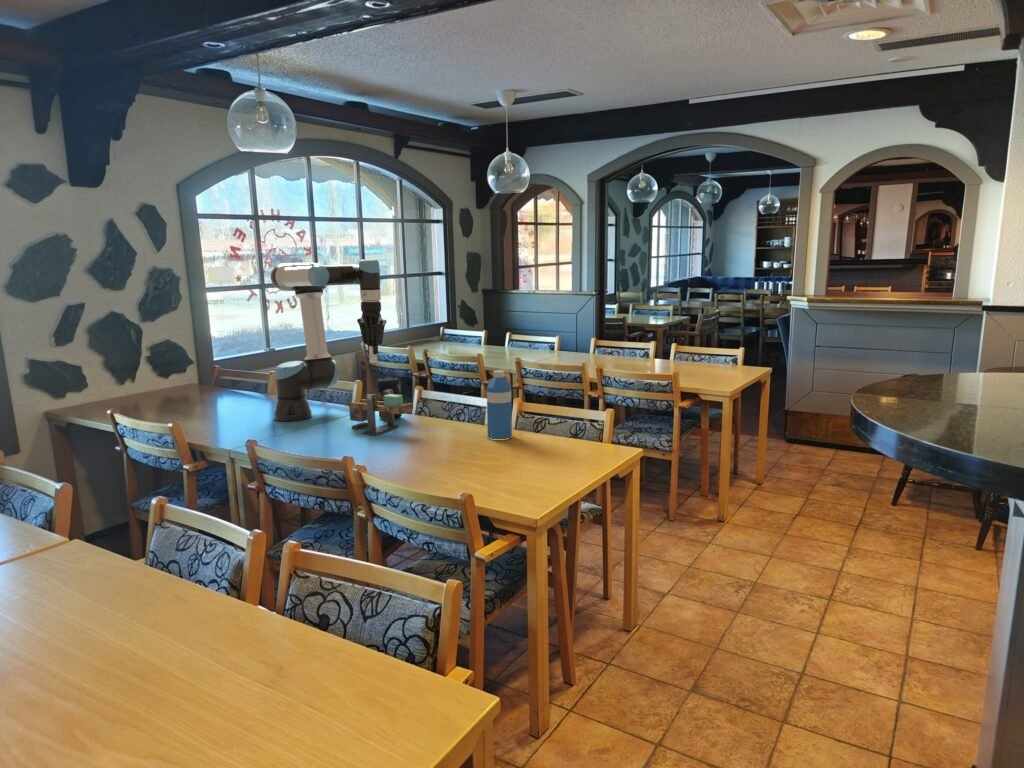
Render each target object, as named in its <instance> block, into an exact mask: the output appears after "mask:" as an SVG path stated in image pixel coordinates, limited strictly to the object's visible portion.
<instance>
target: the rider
mask: <svg viewBox="0 0 1024 768" xmlns="http://www.w3.org/2000/svg"><path fill="white" fill-rule="evenodd" d="M383 397H384V406H387V407H396V408H399V406H402V405H403V404H404V401H403V400H404V399H403V394H401V395H396V394H388V395H385V396H383Z"/></svg>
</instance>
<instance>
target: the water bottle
mask: <svg viewBox="0 0 1024 768" xmlns="http://www.w3.org/2000/svg"><path fill="white" fill-rule="evenodd" d="M492 373H493V374H492V376H493V377H492V378H491V380H490V381H489V383H488V384H487V386H486V409H487V410H486V414H487V419H486V420H487V421H486V422H487V426H486V427H487V438H488V437H489V438H492V439H506V438H510V437H511V436H512V434H513V433H512V432H513V431H512V430H513V429H512V426H513V425H512V419H513V418H512V417H513V416H512V415H513V414H512V384H511V383H510V381H509V380H508V379H507V378H506V376H505V370H502V369H501V370H493V371H492ZM512 437H513V436H512ZM512 437H511V438H512Z"/></svg>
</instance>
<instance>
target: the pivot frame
mask: <svg viewBox="0 0 1024 768" xmlns="http://www.w3.org/2000/svg"><path fill="white" fill-rule="evenodd" d="M385 391H388V392H389V394H393V390H390V389H386V390H385ZM365 398H366V399H365V400H366V403H367V420H366V422H367V423H368V427H367V430H364V431H363V434H364V435H370V436H378V435H381V433H382V434H384V432H385V433H387V432H390V431H393V430H396V429H398V427H399V428H400V425H398V424H396V422H395V420H396V419H394V413H386V416H387V420H386V423H385V424H383V425H380V426H377V423H376V422H377V421H376V411H375V400H374V395H373V394H369V393H367V394H366V395H365ZM395 428H396V429H395ZM392 429H393V430H392Z"/></svg>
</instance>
